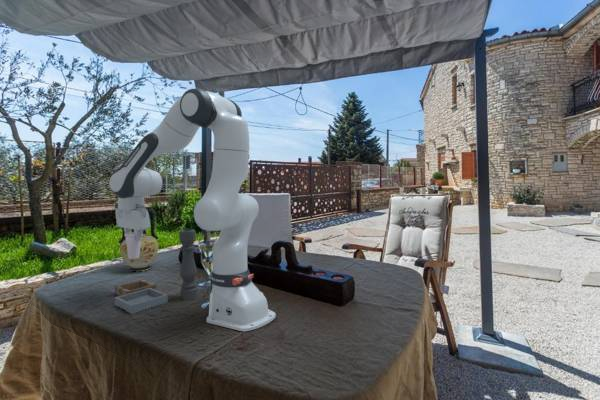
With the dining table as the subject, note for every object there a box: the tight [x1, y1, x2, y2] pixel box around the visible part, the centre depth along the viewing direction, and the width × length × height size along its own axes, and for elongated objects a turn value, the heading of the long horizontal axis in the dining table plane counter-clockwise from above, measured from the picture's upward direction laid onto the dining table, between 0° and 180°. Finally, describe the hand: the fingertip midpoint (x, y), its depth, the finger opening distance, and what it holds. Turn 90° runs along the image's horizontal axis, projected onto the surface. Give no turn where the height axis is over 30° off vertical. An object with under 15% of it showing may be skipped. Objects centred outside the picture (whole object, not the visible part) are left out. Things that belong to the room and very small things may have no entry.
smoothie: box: [124, 229, 143, 259], centre depth 124 cm, size 6×6×14 cm
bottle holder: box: [114, 279, 157, 296], centre depth 125 cm, size 11×11×3 cm
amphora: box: [118, 208, 159, 272], centre depth 157 cm, size 18×17×30 cm
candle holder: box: [178, 229, 199, 301], centre depth 119 cm, size 6×6×25 cm
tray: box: [114, 288, 169, 315], centre depth 114 cm, size 13×13×3 cm
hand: (133, 240), depth 124 cm, fingers closed on smoothie, 6 cm apart
